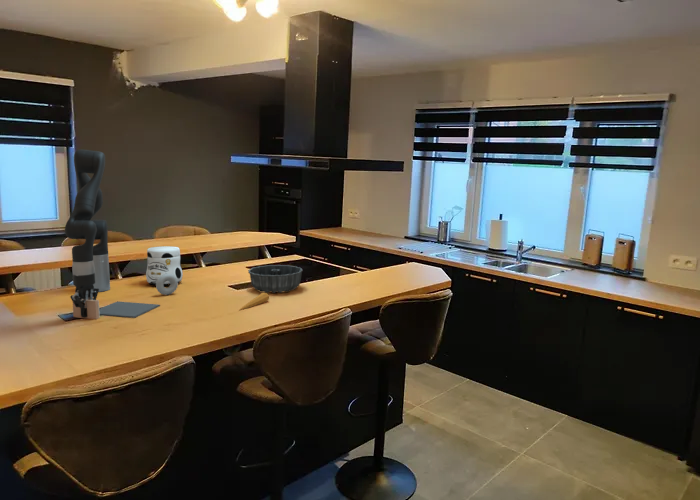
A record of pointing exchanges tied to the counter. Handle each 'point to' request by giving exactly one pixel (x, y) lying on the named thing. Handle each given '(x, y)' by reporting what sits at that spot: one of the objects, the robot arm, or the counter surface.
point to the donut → (162, 280)
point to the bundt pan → (275, 278)
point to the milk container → (163, 263)
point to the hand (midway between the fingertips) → (86, 316)
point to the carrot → (257, 300)
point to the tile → (88, 310)
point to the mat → (126, 309)
